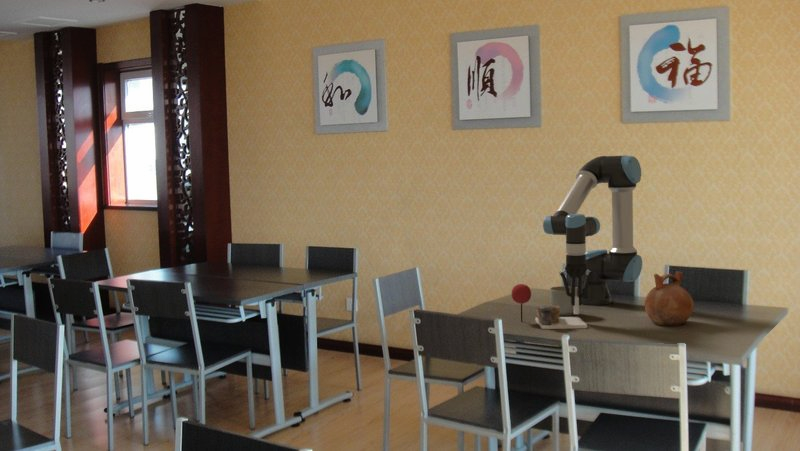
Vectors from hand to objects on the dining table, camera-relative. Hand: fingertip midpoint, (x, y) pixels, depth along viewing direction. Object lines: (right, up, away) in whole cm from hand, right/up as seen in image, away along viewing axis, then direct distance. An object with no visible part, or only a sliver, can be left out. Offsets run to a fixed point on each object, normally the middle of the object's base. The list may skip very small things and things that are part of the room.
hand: (576, 313), depth 320 cm
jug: (+35, -4, -4) cm, 35 cm away
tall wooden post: (-13, -4, -2) cm, 14 cm away
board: (-7, -4, -3) cm, 8 cm away
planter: (-1, -2, +16) cm, 16 cm away
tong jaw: (-11, -3, -3) cm, 12 cm away
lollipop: (-21, -4, +4) cm, 22 cm away
